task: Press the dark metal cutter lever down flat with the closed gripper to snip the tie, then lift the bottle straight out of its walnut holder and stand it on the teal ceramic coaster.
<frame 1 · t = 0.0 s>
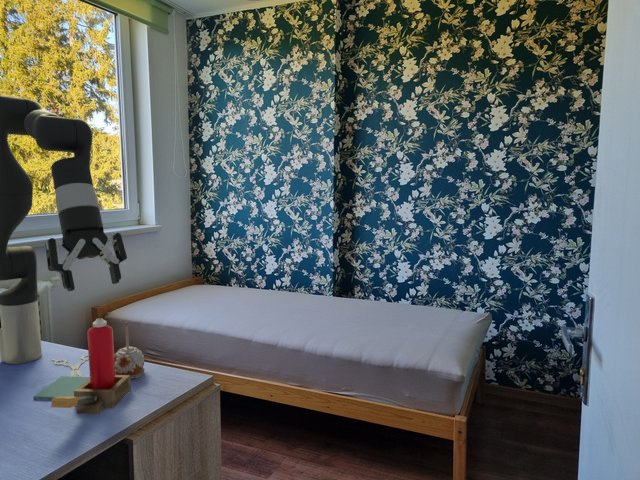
hand: (94, 286, 88), 31 cm above the table, tool tilted 20°, fingers open, 8 cm apart
holder: (103, 398, 107), on the table
cutter lever: (76, 399, 96), point 5 cm above the table, hinge at 22.0°
caramel apple: (129, 376, 120), on the table
coaster: (69, 389, 112), on the table
scissors: (74, 371, 124), on the table
bottle: (103, 399, 107), on the table
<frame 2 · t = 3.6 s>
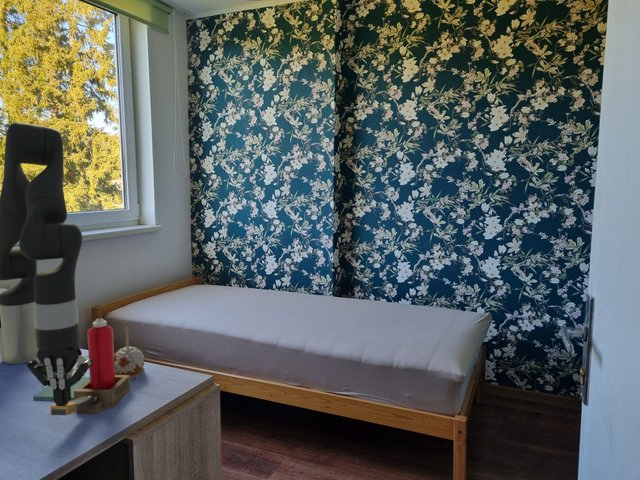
hand: (62, 404, 91), 7 cm above the table, tool pointing down, fingers closed
cutter lever: (75, 403, 96), point 5 cm above the table, hinge at 14.3°, touching gripper
everything else where it was.
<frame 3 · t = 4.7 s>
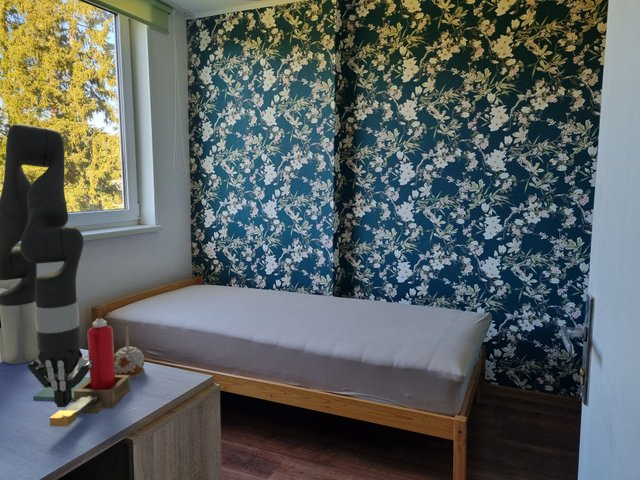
hand: (63, 405, 92), 6 cm above the table, tool pointing down, fingers closed
cutter lever: (75, 408, 96), point 4 cm above the table, hinge at 2.4°
everything else where it was.
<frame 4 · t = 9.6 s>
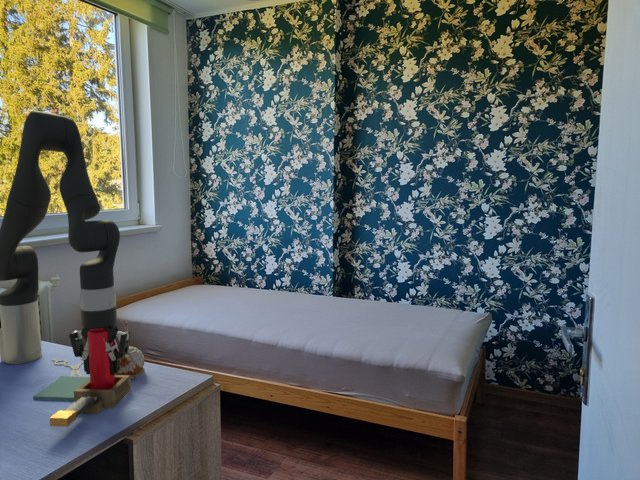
hand: (102, 373, 106), 6 cm above the table, tool pointing down, fingers closed on bottle, 5 cm apart
bottle: (103, 399, 107), on the table, touching gripper
everything else where it was.
when the fingers open (9 cm above the table, at t = 16.3 s): bottle drops 1 cm, resting on coaster.
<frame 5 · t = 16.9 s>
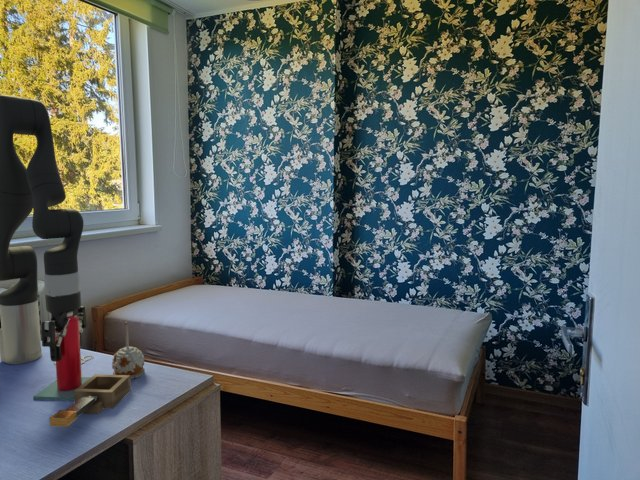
hand: (67, 353, 110), 9 cm above the table, tool pointing down, fingers open, 8 cm apart
bottle: (69, 386, 112), point 1 cm above the table, touching coaster
everything else where it was.
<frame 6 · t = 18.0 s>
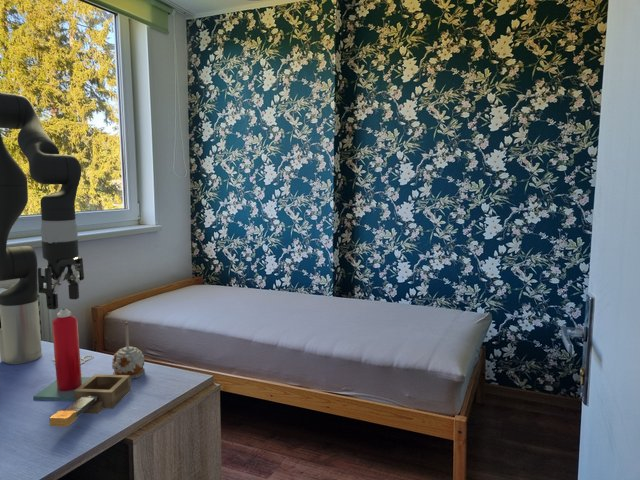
hand: (63, 303, 109), 22 cm above the table, tool pointing down, fingers open, 8 cm apart
nothing on the table moved.
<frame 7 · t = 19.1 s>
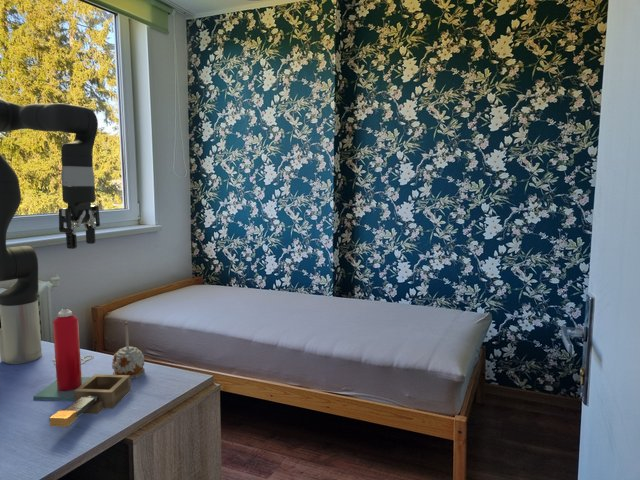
hand: (81, 245, 117), 35 cm above the table, tool pointing down, fingers open, 8 cm apart
nothing on the table moved.
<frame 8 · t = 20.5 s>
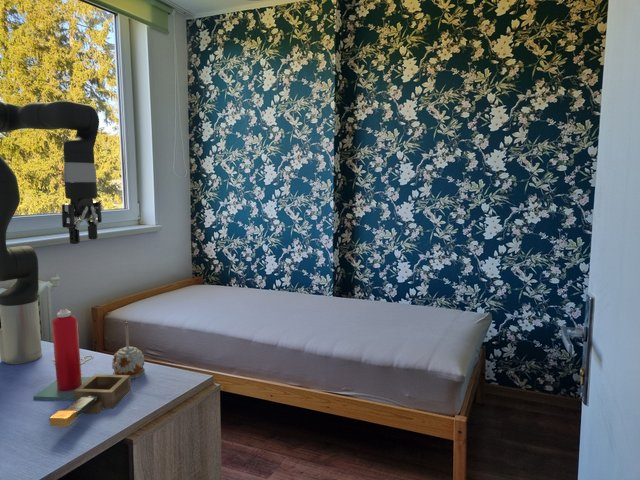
hand: (84, 241, 119), 36 cm above the table, tool pointing down, fingers open, 8 cm apart
nothing on the table moved.
at the end: cutter lever at +2° (first picture: +22°); bottle 0.2 cm off-centre on the coaster, point 0.6 cm above the coaster's base; bottle tilted 0° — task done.
